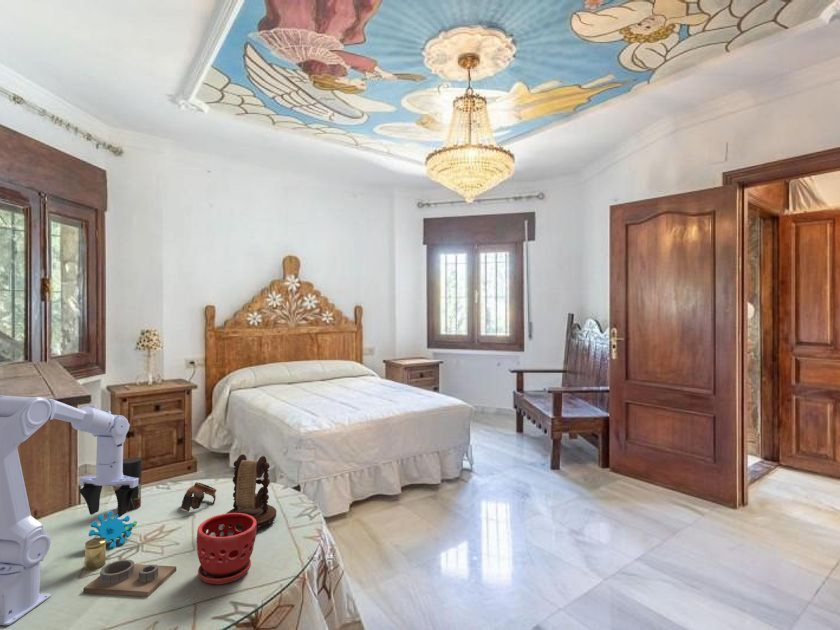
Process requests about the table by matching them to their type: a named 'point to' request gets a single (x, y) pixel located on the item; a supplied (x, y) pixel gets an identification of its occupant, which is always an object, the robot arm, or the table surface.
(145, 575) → the manifold board
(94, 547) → the brass nipple
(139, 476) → the deodorant
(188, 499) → the brown leather bracelet
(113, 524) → the gear
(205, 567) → the plant pot
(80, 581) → the table surface
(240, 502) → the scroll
